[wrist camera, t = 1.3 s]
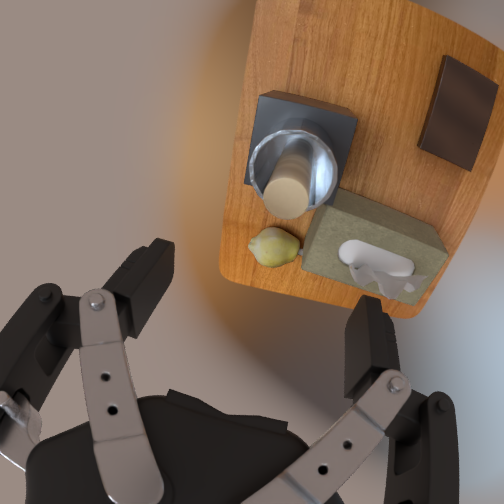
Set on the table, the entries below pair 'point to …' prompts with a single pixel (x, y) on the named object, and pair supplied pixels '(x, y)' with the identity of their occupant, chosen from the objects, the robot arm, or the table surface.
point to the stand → (294, 106)
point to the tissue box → (373, 248)
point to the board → (458, 113)
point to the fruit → (275, 247)
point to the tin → (322, 162)
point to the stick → (290, 181)
